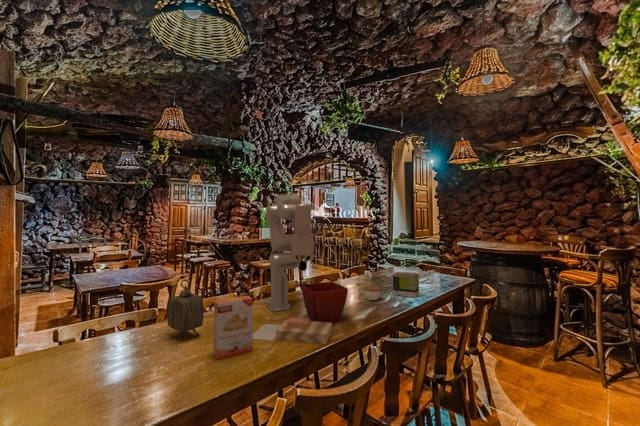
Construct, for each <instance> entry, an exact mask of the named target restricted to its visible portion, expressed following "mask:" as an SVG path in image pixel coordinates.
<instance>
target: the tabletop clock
mask: <svg viewBox="0 0 640 426" xmlns="http://www.w3.org/2000/svg"><path fill="white" fill-rule="evenodd" d="M183 282H186V283H188V285H189V286H187V285H185V286H184V285H183ZM180 287H181V288H182V289H183V290H181V291H180V292H179V294H178V295H175V296H172V297H171V298H170V299H168V301H167V308H166V309H167V311H166V313H167V314H166V315H167V319H166V320H167V325H168V327H169V328H171V329H173V330H175V331H178V332H180V334H178V338H179V339H181V338H183V333H185V332H189V331H193V333H194V334H195V337H197V338H198V337H199V336H200V333H199V332H197V331H196V329H197V328H200V327H203V324H204V316H205V315H204V310H205V309H204V301H203V298H202V296H200V295H198V294H195V293H192V291H191V290H190V289H191V282H190V281H189V280H187V279H182V280H181V282H180Z"/></svg>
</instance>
